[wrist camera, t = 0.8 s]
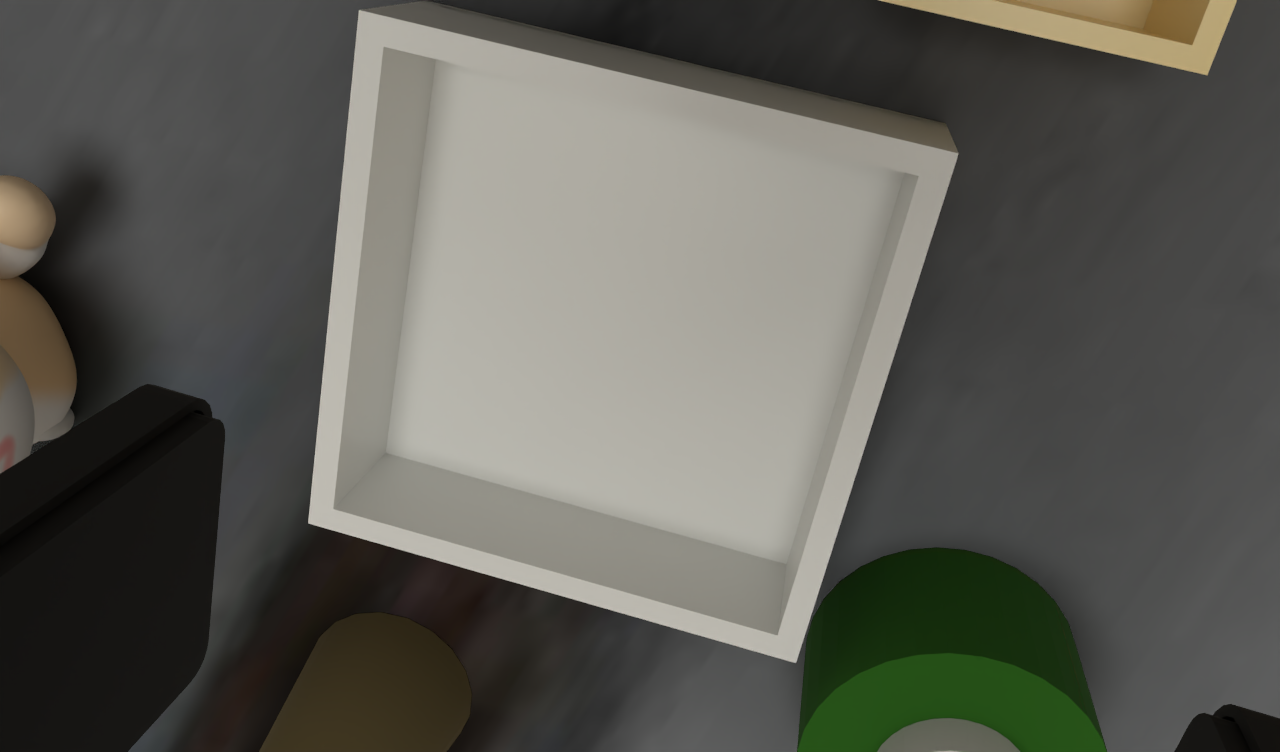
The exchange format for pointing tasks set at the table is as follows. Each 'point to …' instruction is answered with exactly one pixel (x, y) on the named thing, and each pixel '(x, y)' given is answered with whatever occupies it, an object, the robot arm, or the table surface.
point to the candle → (943, 662)
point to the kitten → (29, 330)
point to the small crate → (1107, 25)
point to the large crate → (612, 317)
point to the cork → (375, 691)
